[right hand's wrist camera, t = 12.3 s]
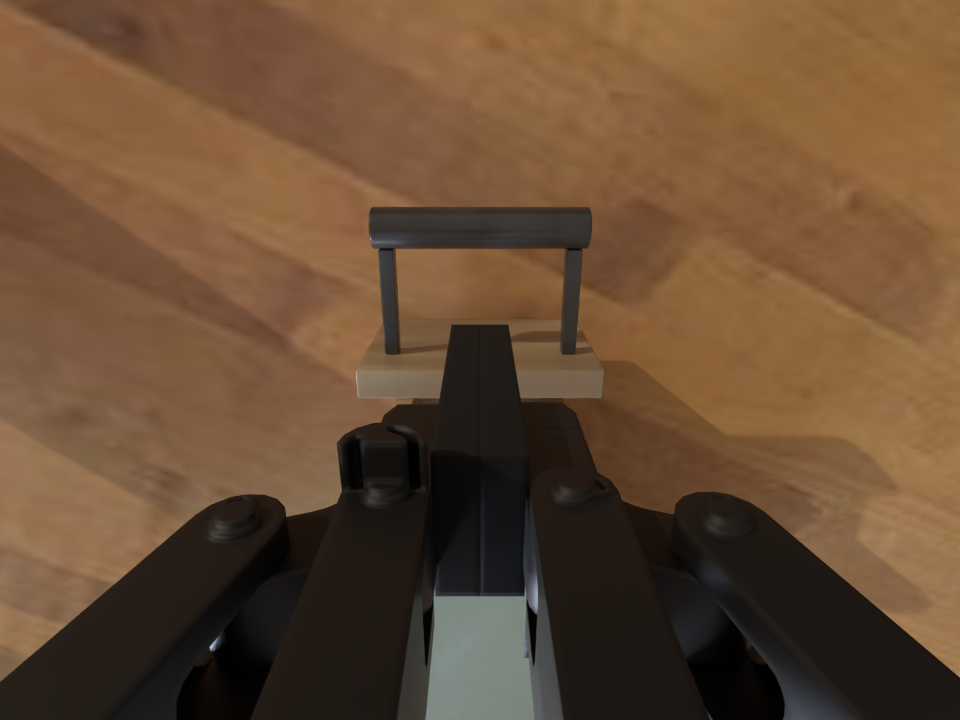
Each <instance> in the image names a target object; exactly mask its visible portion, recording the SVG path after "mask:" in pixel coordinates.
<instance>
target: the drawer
mask: <svg viewBox="0 0 960 720" xmlns="http://www.w3.org/2000/svg"><path fill="white" fill-rule="evenodd" d="M591 233H592V215H591V210H590V208H589V207H372V208H371V209H370V213H369V236H370V242H371V245H372V247H373V248H374V249H379V250H378V256H379V271H380V286H381V301H382V316H383V324H382V326H381V327H380V329H379V331H378V333H377V334H376V336H375V338H374V340H373V341H372V343H371V345H370V347H369V348H368V350H367V352H366V354H365V355H364V357H363V359H362V361H361V362H360V364H359V366H358V368H357V369H356V381H357V392H358V398H397V401H396V404H395V406H396V405H398V404H439V398H440V392H441V386H442V380H443V374H444V368H445V361H446V355H447V349H448V343H449V337H450V331H451V325H452V324H508V325H509V331H510V337H511V343H512V349H513V355H514V361H515V368H516V374H517V380H518V386H519V392H520V398H521V402H562V403H564V404H565V402H564V399H563V398H602V397H603V387H604V376H605V370H604V368H603V367H602V365H601V363H600V362H599V360H598V358H597V356H596V355H595V353H594V351H593V349H592V348H591V346H590V344H589V342H588V341H587V339H586V337H585V335H584V334H583V332H582V330H581V328H580V327H579V325H578V310H579V295H580V280H581V266H582V250H581V249H587V248H588V247H589V244H590V240H591ZM395 249H565V262H564V280H563V298H562V315H561V319H399V305H398V287H397V269H396V251H395ZM395 406H394V407H395Z"/></svg>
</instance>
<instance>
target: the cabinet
mask: <svg viewBox="0 0 960 720" xmlns="http://www.w3.org/2000/svg"><path fill="white" fill-rule="evenodd" d="M434 620H435V624H434V635H433V645H432V656H431V667H430V678H429V688H428V699H427V710H426V720H534V709H533V698H532V688H531V677H530V666H529V658H524V645H525V620H526V587H525V596H435V590H434Z"/></svg>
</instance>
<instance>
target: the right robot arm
mask: <svg viewBox="0 0 960 720" xmlns="http://www.w3.org/2000/svg"><path fill="white" fill-rule="evenodd" d="M337 449H338V458H339V467H340V476H341V485H342V493H341V495H340V498H339V500H338V503H337V504H334V505H332V506H330V507H327V508H324V509H321V510H317V511H314V512H309V513H304V514H299V515H294V516H289V517H286V512H285V507H284V506H283V505H282V504H281V502H280V501H279V500H278V499H275V498H272V497H269V496H266V495H253V494H247V495H239V496H234V497H230V498H227V499H225V500H222V501H220V502H217V503H215V504H212V505H210V506H208V507H207V508H205V509H204V510H202V511H201V512H199V513H198V514H196V515H195V516H194V517H193V518H191V519H190V520H189V521H188V522H187V523H186V524H184V525H183V526H182V527H181V528H180V529H179V530H177V531H176V532H175V533H174V534H173V535H172V536H170V537H169V538H168V539H167V540H166V541H165V542H163V543H162V544H161V545H160V546H159V547H158V548H156V549H155V550H154V551H153V552H152V553H151V554H149V555H148V556H147V557H146V558H145V559H144V560H142V561H141V562H140V563H139V564H138V565H136V566H135V567H134V568H133V569H132V570H131V571H129V572H128V573H127V574H126V575H125V576H124V577H122V578H121V579H120V580H119V581H118V582H117V583H115V584H114V585H113V586H112V587H111V588H110V589H108V590H107V591H106V592H105V593H104V594H103V595H101V596H100V597H99V598H98V599H97V600H96V601H94V602H93V603H92V604H91V605H90V606H89V607H87V608H86V609H85V610H84V611H83V612H82V613H80V614H79V615H78V616H77V617H76V618H75V619H73V620H72V621H71V622H70V623H69V624H68V625H66V626H65V627H64V628H63V629H62V630H61V631H59V632H58V633H57V634H56V635H55V636H54V637H52V638H51V639H50V640H49V641H48V642H47V643H45V644H44V645H43V646H42V647H41V648H40V649H38V650H37V651H36V652H35V653H34V654H33V655H31V656H30V657H29V658H28V659H27V660H26V661H24V662H23V663H22V664H21V665H20V666H19V667H17V668H16V669H15V670H14V671H13V672H12V673H10V674H9V675H8V676H7V677H6V678H5V679H3V680H2V681H1V682H0V720H426V710H427V699H428V688H429V678H430V667H431V656H432V645H433V635H434V624H435V620H434V590H435V596H525V587H526V620H525V645H524V658H529V666H530V677H531V688H532V698H533V709H534V720H960V677H958V676H957V675H956V674H955V673H954V672H953V671H951V670H950V669H949V668H948V667H947V666H945V665H944V664H943V663H942V662H941V661H940V660H938V659H937V658H936V657H935V656H934V655H932V654H931V653H930V652H929V651H928V650H927V649H925V648H924V647H923V646H922V645H921V644H920V643H918V642H917V641H916V640H915V639H914V638H912V637H911V636H910V635H909V634H908V633H907V632H905V631H904V630H903V629H902V628H901V627H899V626H898V625H897V624H896V623H895V622H894V621H892V620H891V619H890V618H889V617H888V616H887V615H885V614H884V613H883V612H882V611H881V610H879V609H878V608H877V607H876V606H875V605H874V604H872V603H871V602H870V601H869V600H868V599H867V598H865V597H864V596H863V595H862V594H861V593H859V592H858V591H857V590H856V589H855V588H854V587H852V586H851V585H850V584H849V583H848V582H846V581H845V580H844V579H843V578H842V577H841V576H839V575H838V574H837V573H836V572H835V571H834V570H832V569H831V568H830V567H829V566H828V565H826V564H825V563H824V562H823V561H822V560H821V559H819V558H818V557H817V556H816V555H815V554H814V553H812V552H811V551H810V550H809V549H808V548H806V547H805V546H804V545H803V544H802V543H801V542H799V541H798V540H797V539H796V538H795V537H793V536H792V535H791V534H790V533H789V532H788V531H786V530H785V529H784V528H783V527H782V526H781V525H779V524H778V523H777V522H776V521H775V520H773V519H772V518H771V517H770V516H769V515H768V514H766V513H765V512H764V511H762V510H761V509H759V508H758V507H756V506H754V505H753V504H751V503H750V502H747V501H745V500H742V499H740V498H737V497H735V496H732V495H728V494H724V493H723V494H722V493H717V492H696V493H693V494H690V495H687V496H683V497H682V498H681V499H680V500H679V501H678V502H677V504H676V505H675V512H674V515H673V514H668V513H663V512H658V511H653V510H648V509H644V508H641V507H637V506H633V505H631V504H629V503H627V502H624V501H622V499H621V497H620V494H619V492H618V490H617V488H616V487H615V486H614V484H613V483H612V482H611V481H610V480H609V479H607V478H606V477H604V476H602V475H601V474H599V473H598V472H597V470H596V467H595V464H594V461H593V459H592V456H591V453H590V451H589V448H588V445H587V442H586V440H585V439H584V434H583V431H582V429H581V426H580V423H579V421H578V418H577V415H576V413H575V412H574V411H572V410H571V409H570V408H569V407H567V406H566V405H565V404H564V403H562V402H521V398H520V392H519V386H518V380H517V374H516V368H515V361H514V355H513V349H512V343H511V337H510V331H509V325H508V324H452V325H451V331H450V337H449V343H448V349H447V355H446V361H445V368H444V374H443V380H442V386H441V392H440V398H439V404H398V405H396V406H395V407H394V408H393V409H391V410H390V411H389V412H388V413H386V414H385V415H384V417H383V420H382V423H373V424H369V425H365V426H362V427H358V428H356V429H354V430H352V431H350V432H348V433H347V434H345V435H344V436H343V437H342V438H341V439H340V440H339V441H338V443H337Z"/></svg>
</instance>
